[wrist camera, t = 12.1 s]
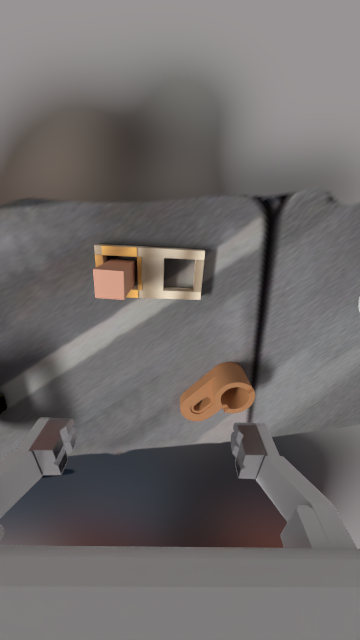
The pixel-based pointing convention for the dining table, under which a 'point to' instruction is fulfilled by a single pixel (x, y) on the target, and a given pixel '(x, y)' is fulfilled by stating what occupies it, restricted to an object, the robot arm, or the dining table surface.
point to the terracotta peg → (114, 279)
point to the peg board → (155, 269)
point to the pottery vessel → (2, 404)
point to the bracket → (218, 393)
